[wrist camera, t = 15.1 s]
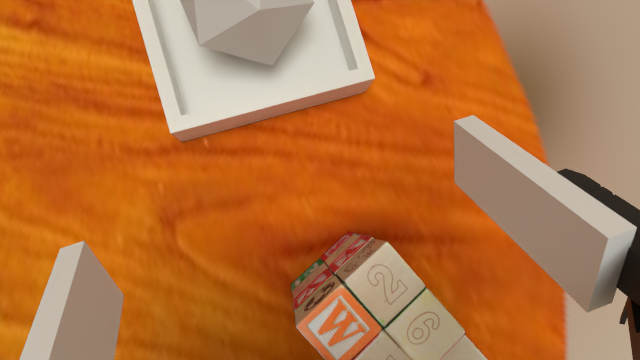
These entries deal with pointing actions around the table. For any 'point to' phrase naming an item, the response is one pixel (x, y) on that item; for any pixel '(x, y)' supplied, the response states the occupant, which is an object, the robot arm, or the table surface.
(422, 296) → the stack of blocks
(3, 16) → the table surface
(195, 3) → the die
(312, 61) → the tray
